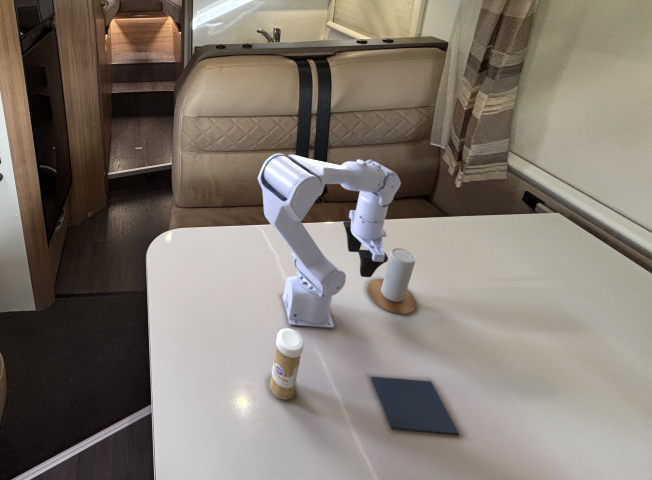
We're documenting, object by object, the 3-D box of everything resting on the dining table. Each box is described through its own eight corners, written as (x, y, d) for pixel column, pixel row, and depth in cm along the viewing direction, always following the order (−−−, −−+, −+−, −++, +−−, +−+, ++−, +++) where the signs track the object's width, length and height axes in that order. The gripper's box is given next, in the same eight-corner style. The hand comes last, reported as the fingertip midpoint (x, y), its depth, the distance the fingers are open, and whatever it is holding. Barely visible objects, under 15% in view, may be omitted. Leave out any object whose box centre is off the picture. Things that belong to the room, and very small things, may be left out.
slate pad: (391, 429, 74) (391, 427, 74) (370, 378, 82) (371, 376, 82) (458, 435, 73) (459, 433, 73) (430, 383, 81) (431, 381, 81)
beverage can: (406, 305, 97) (419, 264, 93) (384, 301, 98) (395, 261, 93) (399, 288, 101) (411, 249, 97) (377, 285, 102) (388, 246, 98)
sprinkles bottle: (265, 390, 80) (272, 339, 75) (275, 371, 83) (283, 322, 78) (288, 406, 77) (298, 355, 72) (298, 387, 81) (308, 336, 76)
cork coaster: (377, 313, 96) (377, 311, 96) (360, 278, 105) (361, 277, 105) (424, 316, 95) (424, 314, 95) (403, 281, 104) (403, 280, 104)
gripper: (405, 238, 85) (391, 289, 90) (375, 195, 98) (364, 241, 103) (368, 236, 86) (356, 287, 91) (344, 194, 99) (335, 240, 104)
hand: (359, 263), depth 97 cm, fingers open, 7 cm apart
